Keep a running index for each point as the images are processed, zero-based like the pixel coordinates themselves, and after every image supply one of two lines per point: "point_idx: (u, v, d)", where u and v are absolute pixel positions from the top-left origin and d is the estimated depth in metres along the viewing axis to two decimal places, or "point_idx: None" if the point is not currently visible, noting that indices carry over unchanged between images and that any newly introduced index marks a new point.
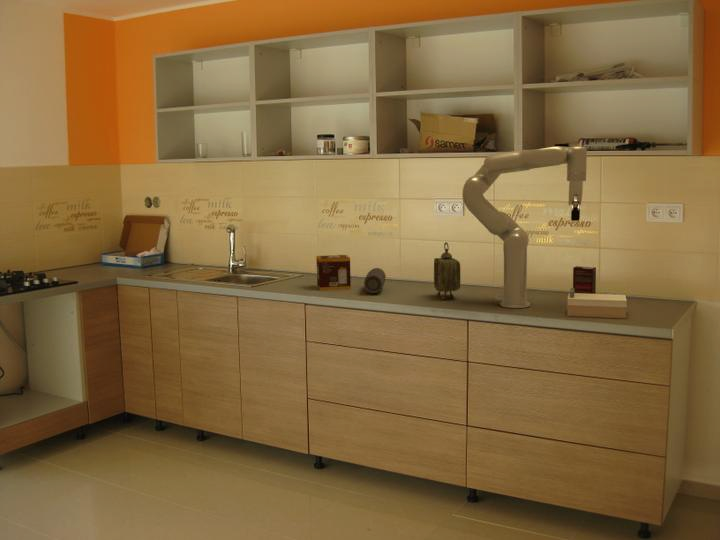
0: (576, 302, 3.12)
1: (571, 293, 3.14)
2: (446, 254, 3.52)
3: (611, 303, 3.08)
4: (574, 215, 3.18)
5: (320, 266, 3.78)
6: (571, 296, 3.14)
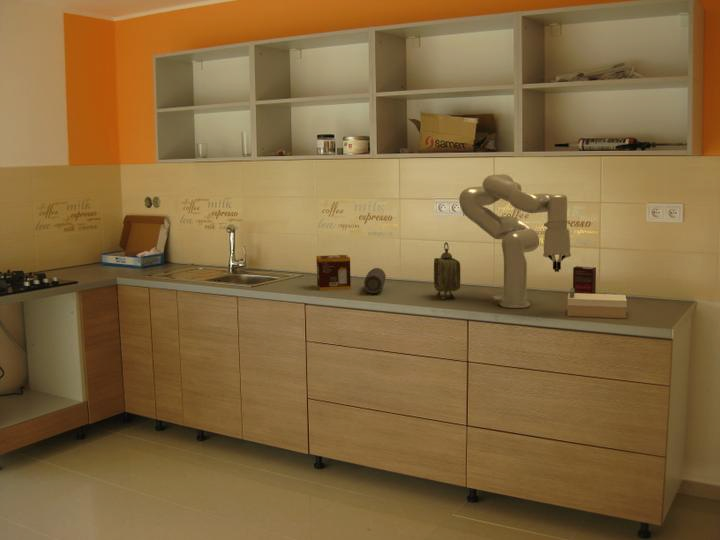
0: (576, 302, 3.12)
1: (571, 293, 3.14)
2: (446, 254, 3.52)
3: (611, 303, 3.08)
4: (560, 266, 3.17)
5: (320, 266, 3.78)
6: (571, 296, 3.14)
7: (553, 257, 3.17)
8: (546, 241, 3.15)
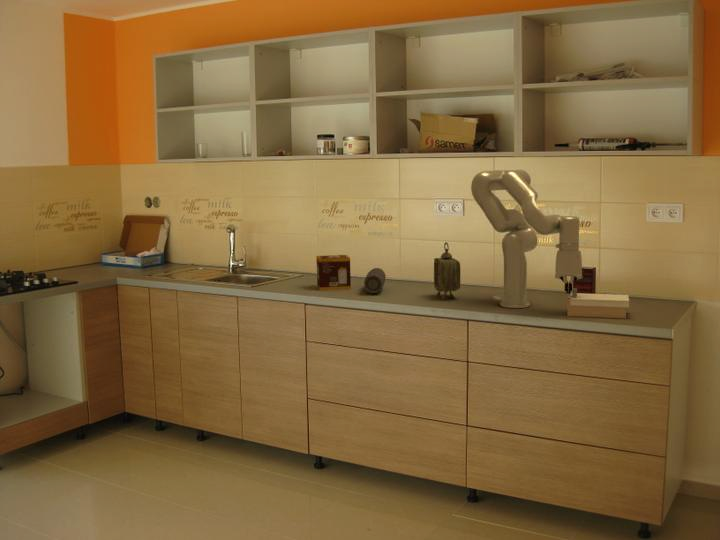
0: (578, 302, 3.12)
1: (574, 293, 3.14)
2: (446, 254, 3.52)
3: (613, 303, 3.08)
4: None
5: (320, 266, 3.78)
6: (574, 296, 3.14)
7: (565, 279, 3.17)
8: (558, 263, 3.15)
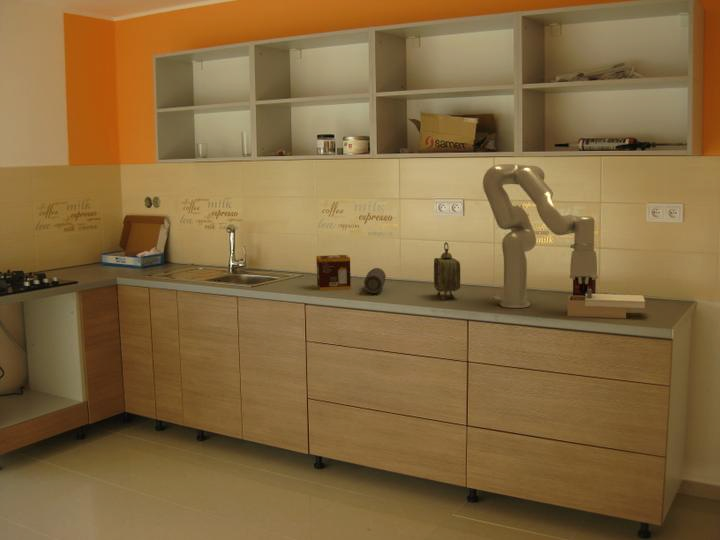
0: (594, 303, 3.10)
1: (589, 294, 3.12)
2: (446, 254, 3.52)
3: (629, 304, 3.07)
4: None
5: (320, 266, 3.78)
6: (589, 297, 3.13)
7: (580, 279, 3.15)
8: (573, 263, 3.14)
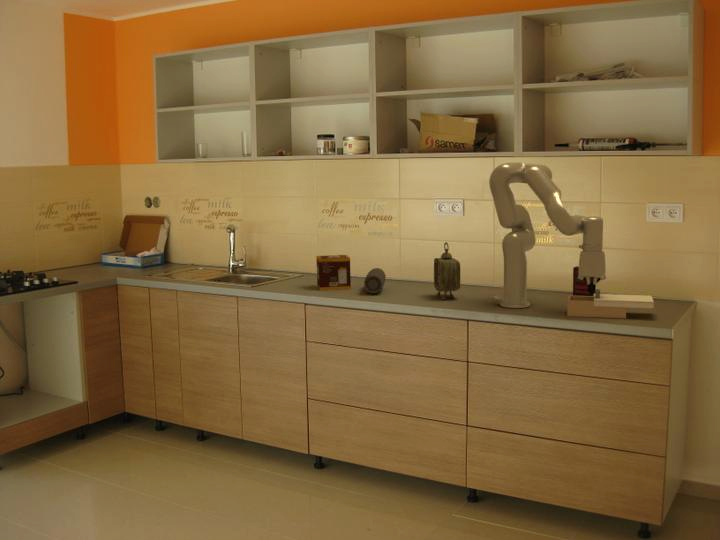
0: (602, 303, 3.09)
1: (597, 294, 3.12)
2: (446, 254, 3.52)
3: (638, 304, 3.06)
4: None
5: (320, 266, 3.78)
6: (597, 297, 3.12)
7: (588, 279, 3.14)
8: (581, 263, 3.13)
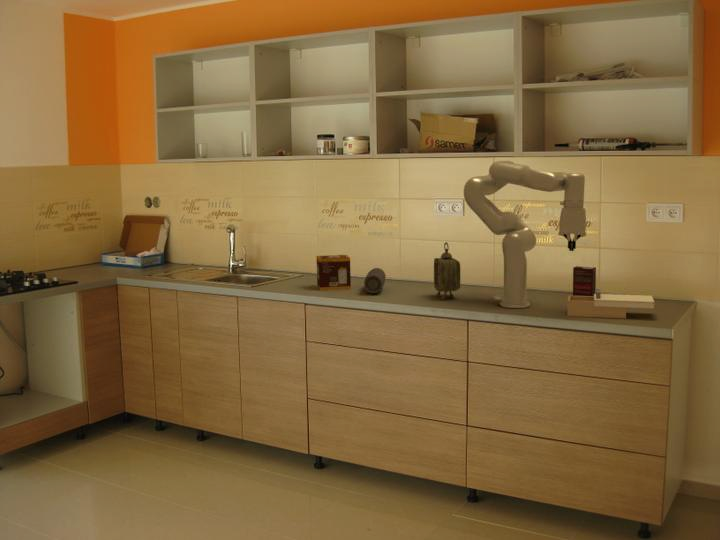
0: (602, 303, 3.09)
1: (597, 294, 3.11)
2: (446, 254, 3.52)
3: (638, 304, 3.06)
4: (575, 245, 3.16)
5: (320, 266, 3.78)
6: (597, 297, 3.12)
7: (568, 236, 3.16)
8: (562, 220, 3.14)
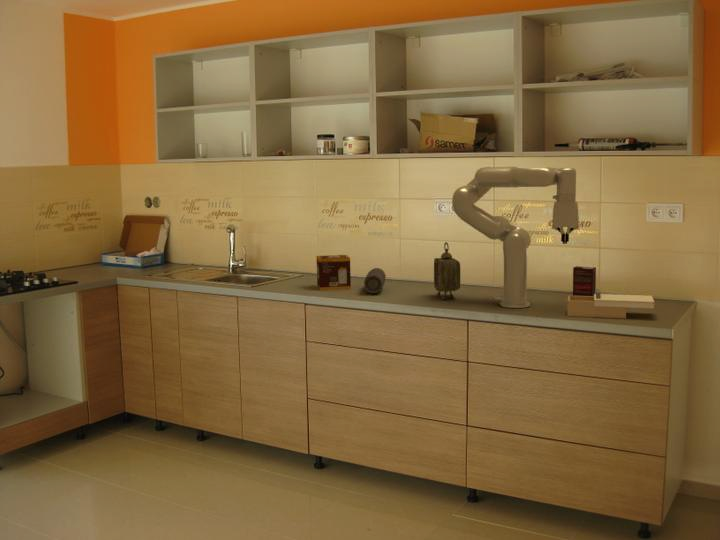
0: (602, 303, 3.09)
1: (597, 294, 3.11)
2: (446, 254, 3.52)
3: (638, 304, 3.06)
4: (568, 238, 3.24)
5: (320, 266, 3.78)
6: (597, 297, 3.12)
7: (561, 229, 3.23)
8: (555, 213, 3.21)
